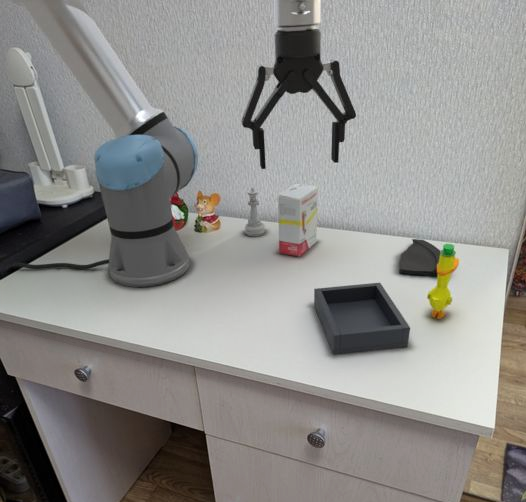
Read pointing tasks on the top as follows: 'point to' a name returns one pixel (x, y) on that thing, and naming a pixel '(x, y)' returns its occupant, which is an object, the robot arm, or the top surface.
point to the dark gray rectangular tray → (360, 318)
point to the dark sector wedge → (420, 259)
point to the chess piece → (254, 217)
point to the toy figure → (443, 281)
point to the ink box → (297, 219)
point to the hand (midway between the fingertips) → (299, 164)
